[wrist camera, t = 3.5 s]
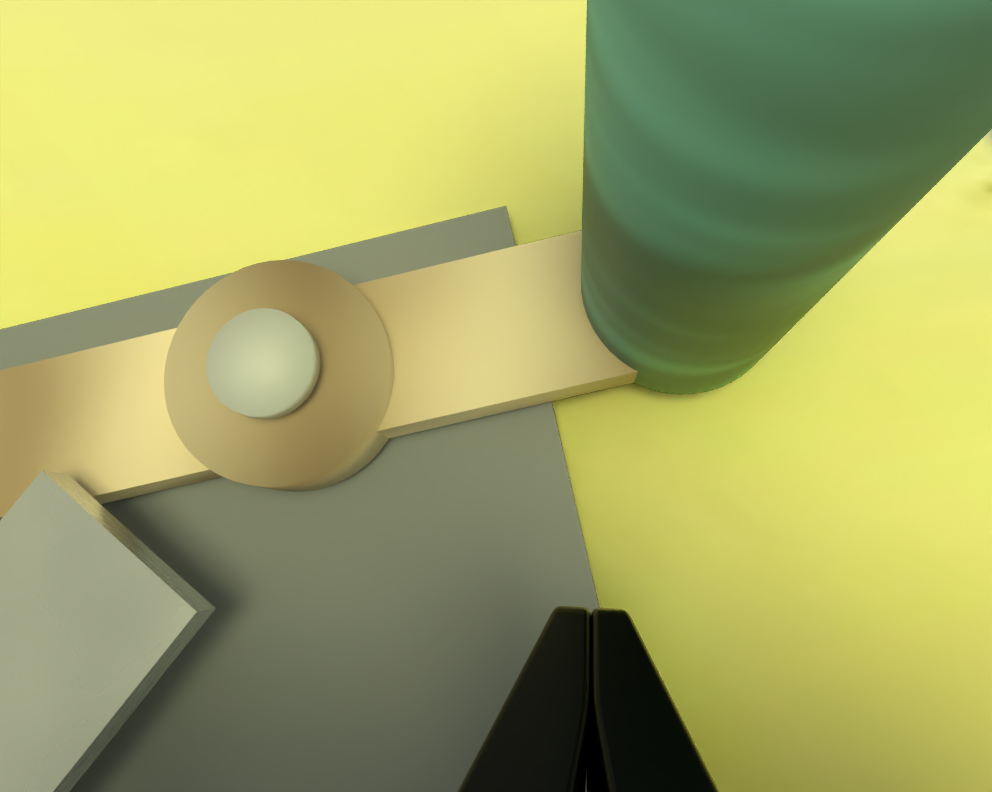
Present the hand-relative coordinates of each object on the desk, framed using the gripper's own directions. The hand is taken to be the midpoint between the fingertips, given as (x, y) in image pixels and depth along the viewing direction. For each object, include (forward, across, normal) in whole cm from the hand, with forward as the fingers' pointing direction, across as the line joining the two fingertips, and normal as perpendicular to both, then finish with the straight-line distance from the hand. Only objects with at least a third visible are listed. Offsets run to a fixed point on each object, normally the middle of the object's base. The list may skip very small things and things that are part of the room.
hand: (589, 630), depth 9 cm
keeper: (+3, +10, +6) cm, 12 cm away
